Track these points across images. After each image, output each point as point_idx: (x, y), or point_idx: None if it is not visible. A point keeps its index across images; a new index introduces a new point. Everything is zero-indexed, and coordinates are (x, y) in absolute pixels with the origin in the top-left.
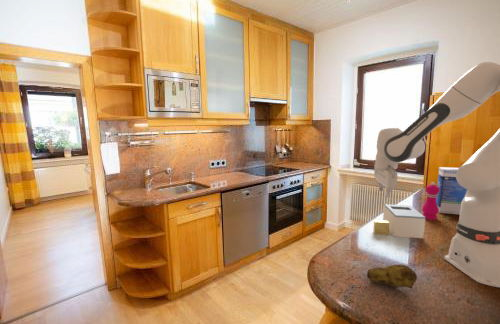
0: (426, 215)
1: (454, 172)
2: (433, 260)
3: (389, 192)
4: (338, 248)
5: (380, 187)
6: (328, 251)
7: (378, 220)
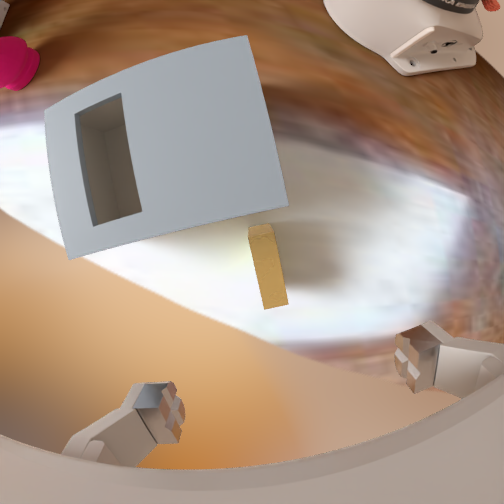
0: (24, 74)
1: None
2: (425, 111)
3: (465, 351)
4: None
5: (170, 434)
6: None
7: (260, 288)
